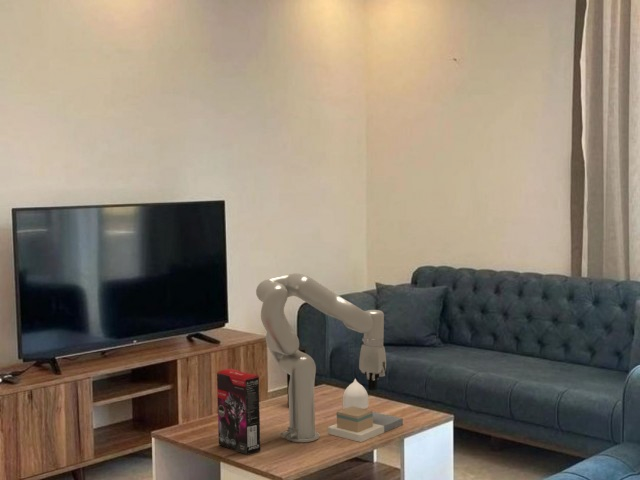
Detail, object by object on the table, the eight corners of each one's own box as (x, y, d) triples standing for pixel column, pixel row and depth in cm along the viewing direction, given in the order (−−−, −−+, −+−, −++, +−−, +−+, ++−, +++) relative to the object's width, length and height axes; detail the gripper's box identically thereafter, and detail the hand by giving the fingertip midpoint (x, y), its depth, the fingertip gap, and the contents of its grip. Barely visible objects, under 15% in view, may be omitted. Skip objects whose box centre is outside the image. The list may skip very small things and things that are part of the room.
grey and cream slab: (361, 442, 288) (360, 435, 288) (327, 433, 298) (327, 427, 298) (402, 424, 307) (402, 418, 307) (369, 417, 318) (369, 411, 318)
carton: (357, 432, 291) (357, 416, 291) (336, 427, 298) (336, 411, 297) (372, 426, 298) (372, 410, 297) (352, 421, 304) (351, 406, 304)
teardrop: (339, 408, 331) (338, 380, 330) (346, 401, 341) (346, 374, 340) (365, 410, 327) (364, 382, 326) (371, 403, 338) (371, 375, 337)
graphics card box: (217, 445, 288) (214, 371, 286) (232, 440, 293) (230, 367, 291) (247, 456, 276) (244, 378, 274) (262, 451, 281) (260, 375, 279)
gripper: (352, 341, 307) (351, 388, 308) (383, 346, 297) (382, 394, 298) (364, 338, 313) (363, 384, 314) (395, 343, 303) (394, 391, 304)
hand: (372, 389), depth 306 cm, fingers closed
